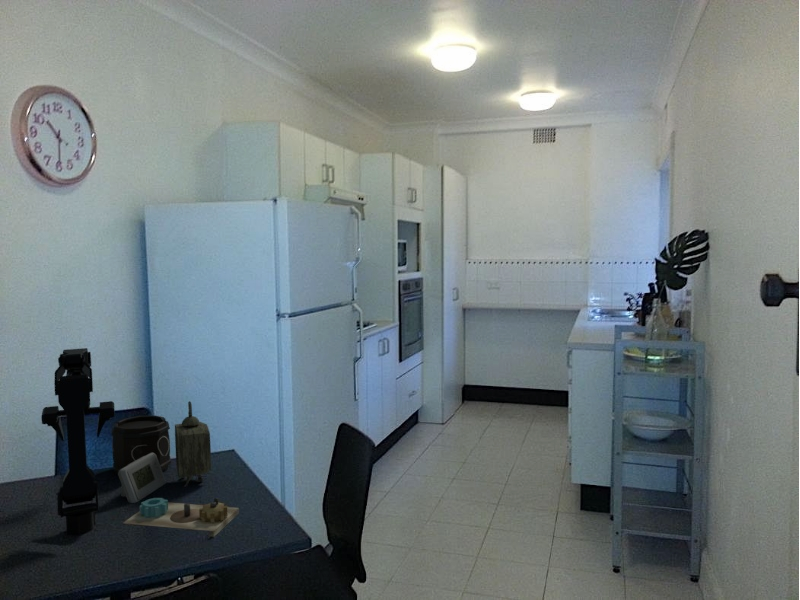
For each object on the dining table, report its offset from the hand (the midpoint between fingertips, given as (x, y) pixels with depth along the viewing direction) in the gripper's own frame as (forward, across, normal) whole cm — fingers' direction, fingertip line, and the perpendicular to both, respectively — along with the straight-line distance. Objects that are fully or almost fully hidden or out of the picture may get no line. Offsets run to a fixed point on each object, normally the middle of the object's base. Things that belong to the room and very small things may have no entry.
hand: (80, 438), depth 188 cm
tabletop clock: (+13, -31, +12) cm, 35 cm away
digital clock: (+12, -16, +17) cm, 26 cm away
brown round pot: (+17, -17, -6) cm, 25 cm away
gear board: (+6, -25, +38) cm, 46 cm away
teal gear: (+6, -18, +33) cm, 39 cm away
